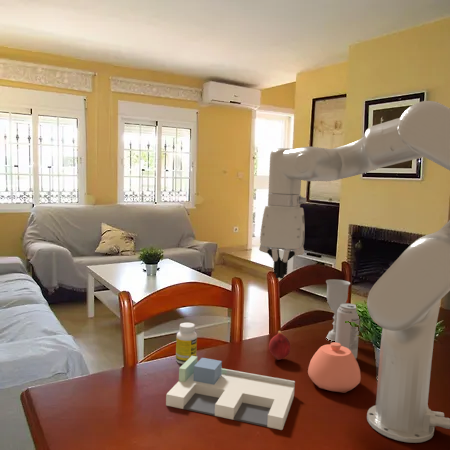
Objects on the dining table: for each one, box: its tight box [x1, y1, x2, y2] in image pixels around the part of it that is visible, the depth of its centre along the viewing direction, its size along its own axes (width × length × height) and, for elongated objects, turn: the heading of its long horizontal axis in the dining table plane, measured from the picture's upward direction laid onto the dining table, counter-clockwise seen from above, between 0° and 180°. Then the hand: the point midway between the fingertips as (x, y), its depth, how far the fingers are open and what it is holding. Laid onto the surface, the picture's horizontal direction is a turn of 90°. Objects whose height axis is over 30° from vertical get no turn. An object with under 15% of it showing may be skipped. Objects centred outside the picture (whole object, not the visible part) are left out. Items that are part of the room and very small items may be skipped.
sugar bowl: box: [307, 342, 362, 394], centre depth 105 cm, size 12×14×10 cm
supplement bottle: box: [175, 322, 198, 365], centre depth 115 cm, size 5×5×10 cm
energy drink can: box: [335, 302, 361, 360], centre depth 119 cm, size 6×6×15 cm
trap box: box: [165, 355, 296, 431], centre depth 95 cm, size 25×14×6 cm, turn 72°
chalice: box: [325, 279, 351, 342], centre depth 134 cm, size 7×7×18 cm
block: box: [194, 357, 223, 385], centre depth 100 cm, size 5×5×4 cm
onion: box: [268, 330, 292, 361], centre depth 117 cm, size 6×6×8 cm
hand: (280, 277), depth 105 cm, fingers closed
